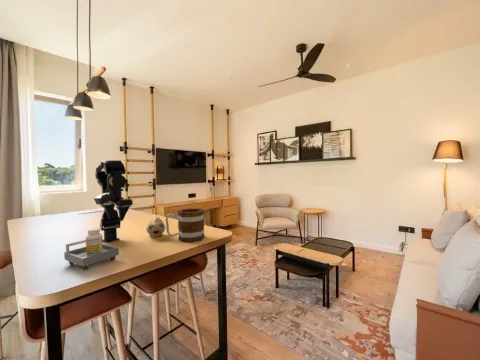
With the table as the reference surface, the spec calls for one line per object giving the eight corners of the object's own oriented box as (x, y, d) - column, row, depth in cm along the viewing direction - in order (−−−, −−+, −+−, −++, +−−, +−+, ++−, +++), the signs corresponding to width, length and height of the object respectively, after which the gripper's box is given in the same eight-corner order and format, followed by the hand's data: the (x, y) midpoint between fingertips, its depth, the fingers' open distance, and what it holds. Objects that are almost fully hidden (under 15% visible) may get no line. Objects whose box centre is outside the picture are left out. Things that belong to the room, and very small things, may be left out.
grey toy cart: (64, 264, 87) (63, 244, 87) (99, 254, 99) (99, 236, 98) (83, 272, 80) (82, 250, 80) (119, 259, 91) (118, 240, 91)
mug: (203, 234, 128) (203, 207, 127) (205, 241, 115) (205, 211, 114) (167, 237, 123) (166, 209, 123) (164, 245, 110) (163, 214, 109)
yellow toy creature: (146, 240, 117) (145, 220, 117) (146, 235, 128) (146, 216, 128) (166, 238, 121) (165, 218, 120) (165, 233, 132) (164, 214, 132)
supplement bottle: (94, 250, 93) (93, 227, 92) (106, 251, 92) (105, 227, 91) (83, 255, 87) (82, 230, 87) (95, 256, 86) (94, 231, 86)
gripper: (85, 187, 104) (86, 221, 105) (108, 188, 95) (109, 225, 95) (109, 186, 114) (111, 217, 115) (132, 186, 105) (134, 220, 105)
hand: (115, 220), depth 107 cm, fingers open, 9 cm apart
